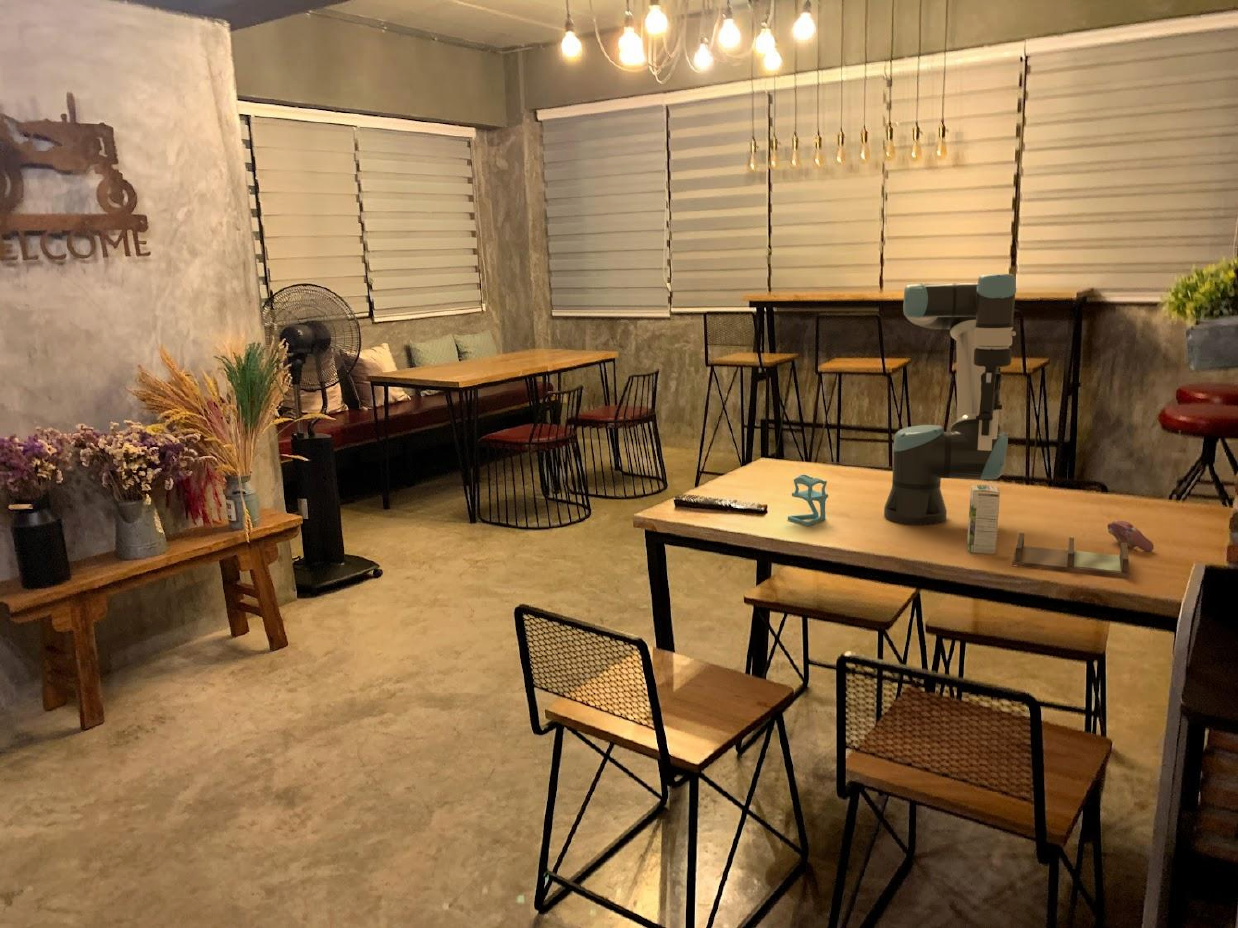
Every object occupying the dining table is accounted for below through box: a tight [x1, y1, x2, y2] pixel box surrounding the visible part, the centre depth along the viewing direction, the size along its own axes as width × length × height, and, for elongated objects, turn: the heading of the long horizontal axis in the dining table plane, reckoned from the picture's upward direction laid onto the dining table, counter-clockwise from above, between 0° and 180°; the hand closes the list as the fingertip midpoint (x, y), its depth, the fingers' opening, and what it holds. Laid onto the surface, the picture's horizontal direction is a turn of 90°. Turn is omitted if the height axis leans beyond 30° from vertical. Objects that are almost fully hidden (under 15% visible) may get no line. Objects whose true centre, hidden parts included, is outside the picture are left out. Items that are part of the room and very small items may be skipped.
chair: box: [787, 474, 829, 527], centre depth 232 cm, size 8×8×12 cm
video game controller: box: [1107, 519, 1155, 553], centre depth 205 cm, size 10×5×7 cm, turn 5°
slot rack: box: [1011, 532, 1131, 579], centre depth 195 cm, size 22×12×4 cm, turn 63°
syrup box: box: [966, 484, 1001, 555], centre depth 204 cm, size 6×6×14 cm
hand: (987, 444), depth 201 cm, fingers open, 13 cm apart
